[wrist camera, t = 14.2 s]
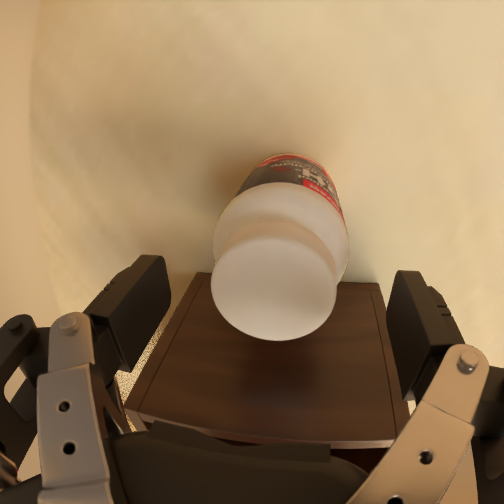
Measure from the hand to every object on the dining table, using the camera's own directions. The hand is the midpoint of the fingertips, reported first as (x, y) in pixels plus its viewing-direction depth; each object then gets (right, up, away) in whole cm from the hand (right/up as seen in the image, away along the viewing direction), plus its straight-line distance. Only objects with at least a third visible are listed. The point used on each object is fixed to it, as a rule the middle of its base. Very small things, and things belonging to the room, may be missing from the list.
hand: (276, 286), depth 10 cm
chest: (+2, -7, +14) cm, 16 cm away
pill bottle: (+1, +5, +8) cm, 9 cm away
